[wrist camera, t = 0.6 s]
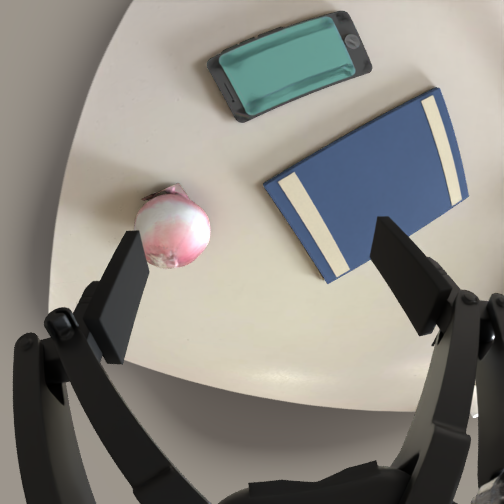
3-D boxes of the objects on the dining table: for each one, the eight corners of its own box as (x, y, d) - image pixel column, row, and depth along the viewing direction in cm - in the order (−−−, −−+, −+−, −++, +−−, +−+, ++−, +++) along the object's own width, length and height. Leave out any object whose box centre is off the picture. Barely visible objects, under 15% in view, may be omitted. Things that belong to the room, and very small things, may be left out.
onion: (135, 233, 33) (118, 269, 27) (151, 171, 29) (132, 197, 23) (200, 252, 35) (195, 292, 29) (222, 194, 31) (221, 225, 25)
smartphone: (375, 71, 24) (239, 125, 26) (369, 71, 25) (238, 123, 27) (346, 7, 20) (202, 59, 22) (341, 9, 21) (203, 60, 24)
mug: (491, 374, 70) (502, 395, 62) (469, 395, 76) (479, 415, 68) (481, 376, 69) (493, 398, 60) (459, 398, 74) (469, 419, 66)
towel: (435, 87, 25) (440, 87, 25) (465, 194, 33) (469, 197, 32) (262, 183, 31) (263, 186, 30) (326, 280, 39) (327, 284, 38)
